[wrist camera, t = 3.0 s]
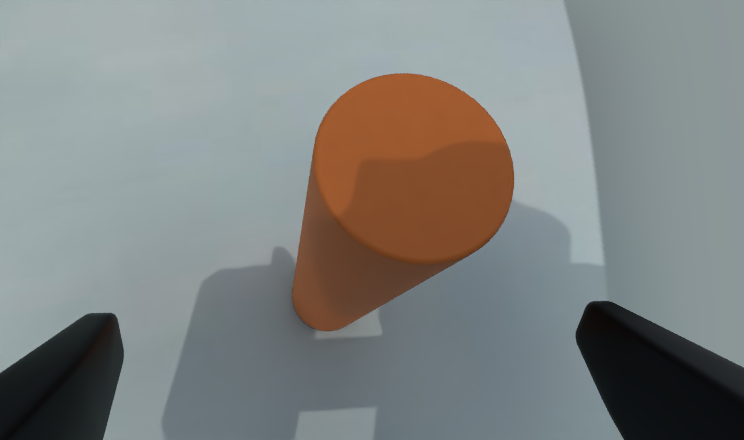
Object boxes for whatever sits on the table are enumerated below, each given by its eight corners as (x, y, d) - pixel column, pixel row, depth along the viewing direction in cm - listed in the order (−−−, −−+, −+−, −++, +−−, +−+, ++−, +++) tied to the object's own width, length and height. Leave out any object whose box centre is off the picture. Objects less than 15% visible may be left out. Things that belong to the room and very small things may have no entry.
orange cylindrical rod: (375, 311, 18) (553, 212, 6) (310, 344, 17) (374, 302, 5) (344, 248, 18) (454, 48, 7) (280, 277, 18) (277, 106, 6)
